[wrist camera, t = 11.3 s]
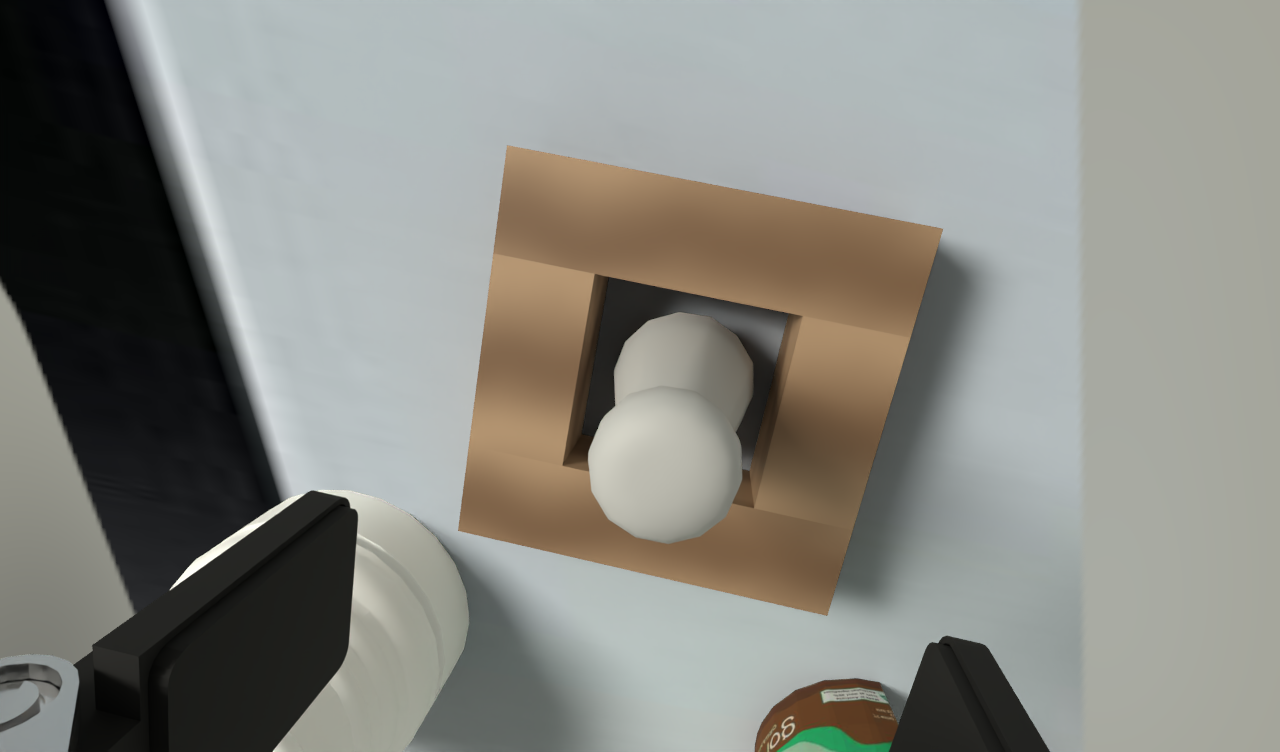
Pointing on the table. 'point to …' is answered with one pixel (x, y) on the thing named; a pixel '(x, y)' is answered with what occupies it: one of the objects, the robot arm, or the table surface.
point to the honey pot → (382, 633)
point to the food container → (830, 719)
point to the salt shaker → (673, 429)
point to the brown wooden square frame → (713, 267)
